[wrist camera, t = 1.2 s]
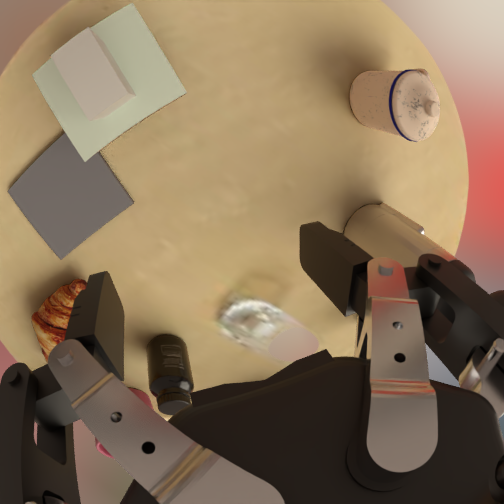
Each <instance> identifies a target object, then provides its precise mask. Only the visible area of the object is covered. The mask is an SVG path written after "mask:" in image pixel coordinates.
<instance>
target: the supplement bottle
mask: <svg viewBox="0 0 504 504" xmlns="http://www.w3.org/2000/svg"><path fill="white" fill-rule="evenodd" d="M147 362H148V379H149V389H150V391H151V393H152V394H153V395H154V396H155V397H156V398H157V403H158V409H159V411H160V412H162V413H164V414H167V415H175V414H176V413H177V412H178V411H180V410H181V409H183V408H184V407H186V406H188V405H190V404H191V402H190V393H192V392H193V389H194V383H193V378H192V372H191V367H190V362H189V356H188V351H187V346H186V344H185V342H184V341H183V340H181V339H180V338H178V337H176V336H172V335H162V336H158V337H156V338H154V339H152V340H151V341H150V342H149V344H148V346H147Z"/></svg>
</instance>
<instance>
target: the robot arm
mask: <svg viewBox="0 0 504 504" xmlns="http://www.w3.org/2000/svg"><path fill="white" fill-rule="evenodd" d="M300 262H301V266H302V268H303V270H304V271H305V272H306V273H307V275H308V276H309V277H310V278H311V279H312V280H313V281H314V282H315V283H316V284H317V286H318V287H319V288H320V289H321V290H322V291H323V292H324V293H325V295H326V296H327V297H328V298H329V299H330V300H331V301H332V302H333V304H334V305H335V306H336V307H337V308H338V309H339V310H340V311H341V313H342V314H343V315H344V316H345V317H347V316H349V315H351V314H354V313H357V314H358V318H357V326H356V340H355V352H354V357H333V358H332V356H331V355H330V354H329V352H328V351H327V349H325V350H323V351H320V352H318V353H315V354H313V355H310V356H307V357H305V358H302V359H299V360H297V361H295V362H293V363H292V364H290V365H289V366H287V367H285V368H284V369H282V370H281V371H279V372H277V373H276V374H274V375H273V376H271V377H269V378H268V379H266V380H262V381H254V382H243V383H230V384H223V385H219V386H215V387H212V388H208V389H204V390H200V391H196V392H192V393H190V397H191V401H192V404H190V405H188V406H186V407H184V408H183V409H181V410H180V411H178V412H177V413H176V414H175V415H173V416H172V417H171V418H170V419H169V420H168V421H166V420H165V419H164V418H162V417H161V416H160V415H159V414H157V413H156V412H155V411H154V410H152V409H151V408H150V407H149V406H148V405H147V404H145V403H144V402H143V401H142V400H141V399H140V398H138V397H137V396H136V395H135V394H134V393H133V392H132V391H131V390H130V389H128V388H127V387H126V386H125V385H124V384H123V383H122V382H121V381H124V310H123V306H122V303H121V301H120V298H119V296H118V294H117V291H116V289H115V286H114V284H113V281H112V279H111V277H110V274H109V273H108V272H107V271H104V272H100V273H97V274H93V275H90V276H89V279H88V282H87V286H86V289H84V290H81V291H80V293H79V294H78V295H77V297H76V298H75V300H74V303H73V307H72V310H71V314H70V318H69V322H68V326H67V330H66V334H65V338H64V341H62V342H60V343H59V344H57V345H56V346H55V347H54V348H53V349H52V351H51V352H50V354H49V356H48V364H46V365H44V366H42V367H40V368H38V369H36V370H34V371H31V370H30V369H29V368H28V366H27V365H26V364H24V363H15V364H13V365H12V366H10V367H9V368H8V369H7V370H6V371H5V373H4V374H3V376H2V380H1V383H0V504H81V502H80V496H79V490H78V483H77V475H76V467H75V455H74V439H73V422H75V421H77V420H79V419H81V420H82V421H83V422H84V424H85V425H86V426H87V427H88V429H89V430H90V431H91V432H92V434H93V435H94V436H95V437H96V438H97V440H98V441H99V442H100V443H101V444H102V445H103V447H104V448H105V449H106V450H107V451H108V452H109V453H110V454H111V455H112V456H113V458H114V459H115V460H116V461H117V462H118V463H119V464H120V465H121V466H122V467H123V468H124V469H125V470H126V471H127V472H128V473H129V474H130V475H131V476H132V477H133V478H134V480H133V482H132V483H131V485H130V487H129V488H128V490H127V492H126V494H125V496H124V497H123V499H122V501H121V502H120V504H504V439H503V436H502V432H501V429H500V424H499V420H498V418H500V417H501V416H502V415H503V414H504V290H500V291H496V292H493V293H491V294H490V295H489V294H488V293H487V292H486V291H484V290H483V289H482V288H481V287H480V286H478V285H477V284H476V281H475V277H474V274H473V272H472V271H471V270H470V269H469V268H468V267H467V266H466V265H464V264H463V263H462V262H461V261H459V260H458V259H457V258H455V257H454V256H453V255H451V254H450V253H449V252H447V251H446V250H445V249H443V248H442V247H440V246H439V245H438V244H436V243H435V242H433V241H432V240H431V239H429V238H428V237H426V236H425V234H424V228H423V227H422V226H420V225H419V224H417V223H416V222H414V221H413V220H411V219H409V218H408V217H406V216H405V215H403V214H401V213H400V212H398V211H397V210H395V209H393V208H392V207H390V206H388V205H387V204H385V203H382V204H380V205H375V204H369V205H366V206H363V207H362V208H360V209H358V210H357V211H356V212H355V213H354V214H353V215H352V217H351V218H350V219H349V221H348V223H347V225H346V228H345V231H344V235H343V234H341V233H339V232H336V231H333V230H330V229H328V228H327V227H326V226H324V225H323V224H322V223H320V222H318V221H317V222H312V223H308V224H303V225H301V227H300ZM425 343H426V344H427V345H428V346H429V348H430V349H431V350H432V351H433V352H434V353H435V354H436V356H437V357H438V358H439V359H440V360H441V361H442V363H443V364H444V365H445V366H446V367H447V368H448V370H449V371H450V372H451V373H452V374H453V376H454V377H455V378H456V379H457V380H458V381H459V385H460V387H456V386H452V385H448V384H444V383H441V382H438V381H434V380H430V379H429V372H428V362H427V354H426V347H425ZM34 421H35V422H36V423H37V424H38V427H37V445H36V443H35V441H34Z"/></svg>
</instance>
